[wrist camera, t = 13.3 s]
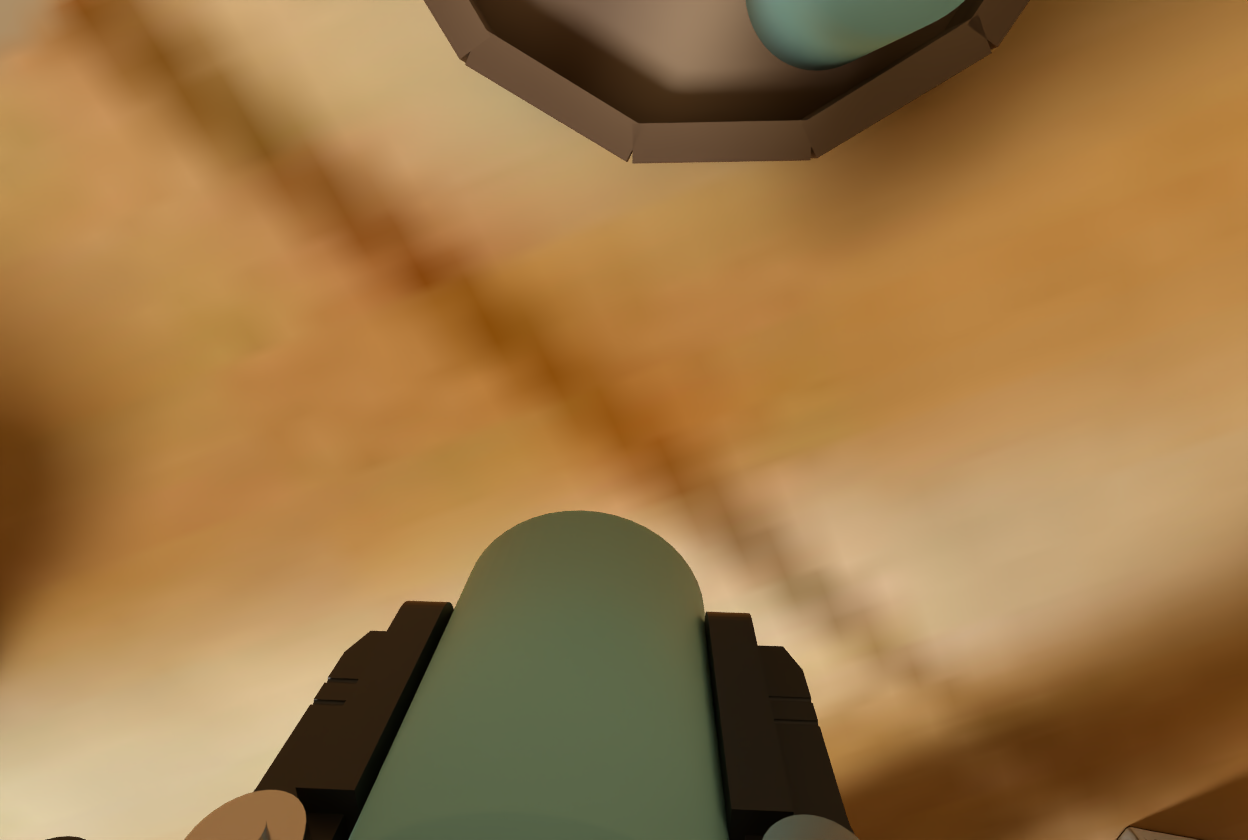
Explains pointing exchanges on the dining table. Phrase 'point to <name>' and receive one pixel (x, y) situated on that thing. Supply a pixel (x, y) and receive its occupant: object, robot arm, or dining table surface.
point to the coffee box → (1148, 835)
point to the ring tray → (702, 73)
